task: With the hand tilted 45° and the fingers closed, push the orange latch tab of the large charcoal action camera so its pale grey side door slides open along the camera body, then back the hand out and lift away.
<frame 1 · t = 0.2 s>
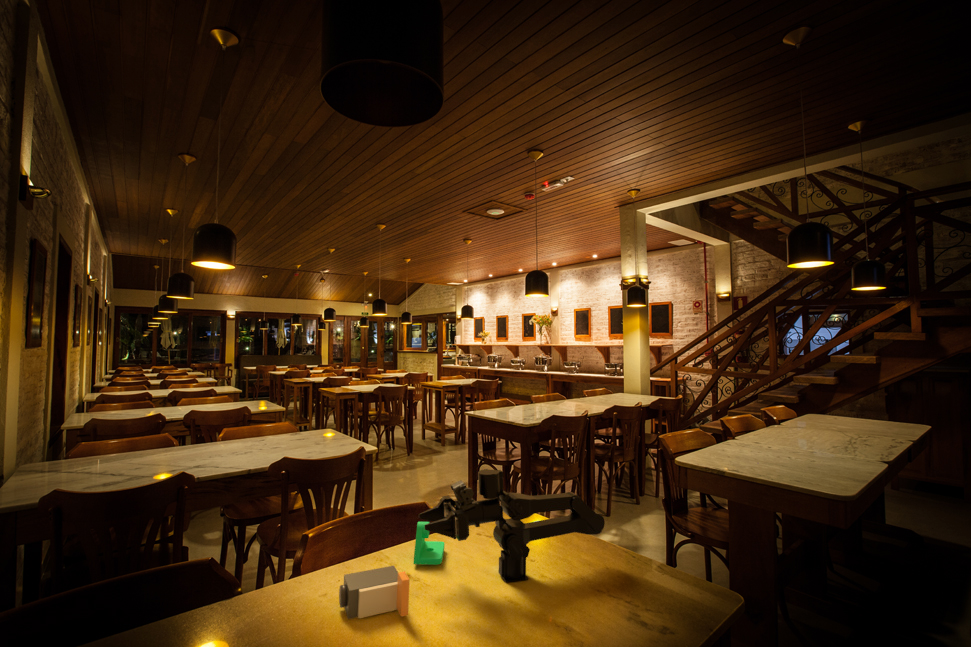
hand: (421, 521, 110), 16 cm above the table, tool horizontal, fingers open, 9 cm apart
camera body: (371, 604, 101), on the table
camera mount: (429, 559, 126), on the table
side door: (383, 597, 96), point 5 cm above the table, slide at 0.0 cm
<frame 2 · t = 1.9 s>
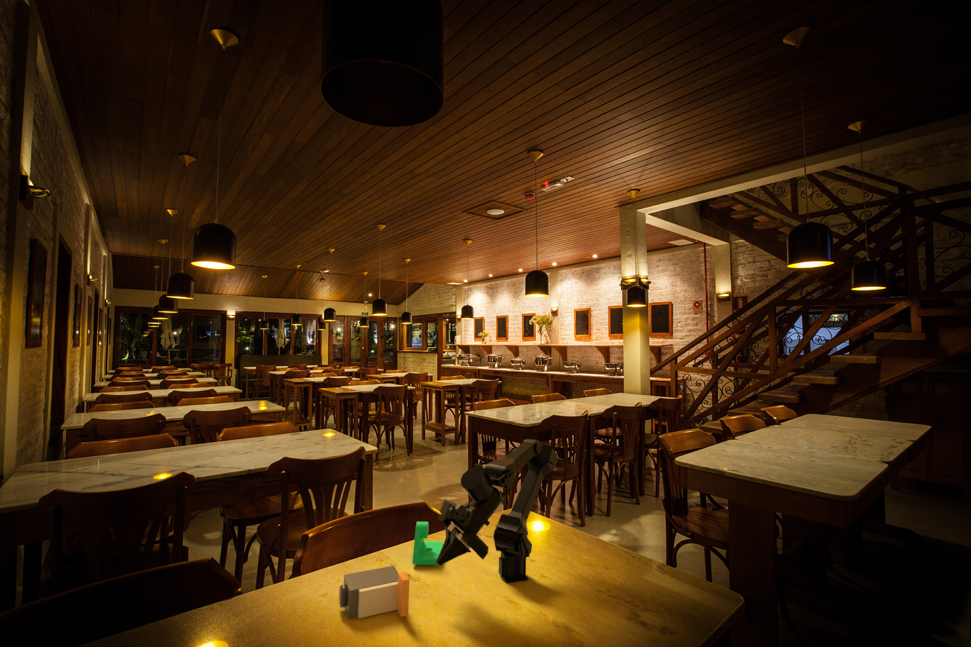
hand: (437, 563, 101), 10 cm above the table, tool tilted 45°, fingers closed
nothing on the table moved.
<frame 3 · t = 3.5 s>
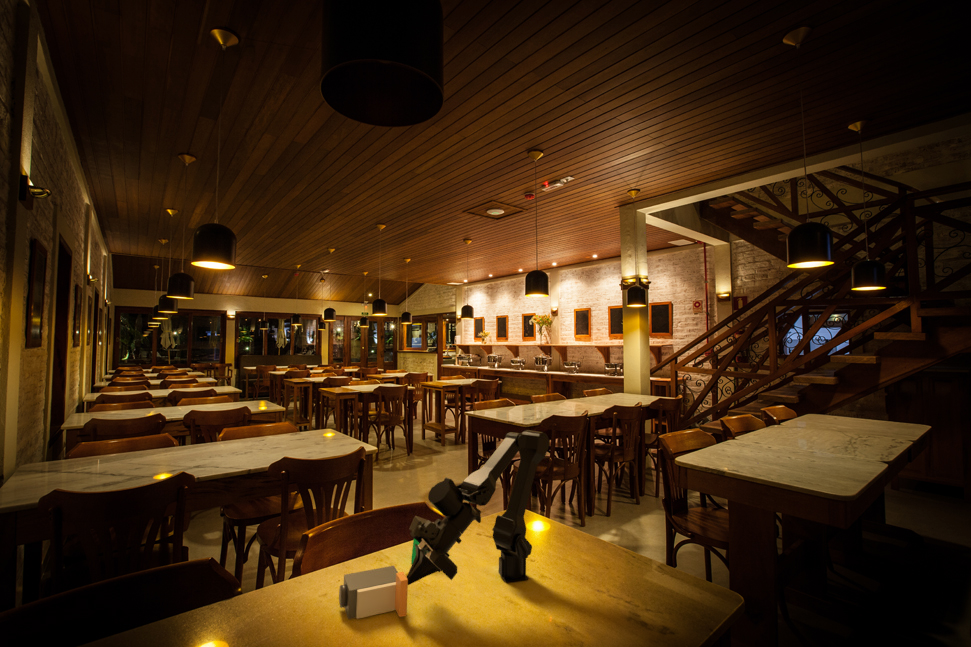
hand: (406, 583, 98), 7 cm above the table, tool tilted 45°, fingers closed, pressing on side door
side door: (381, 597, 96), point 4 cm above the table, slide at 0.4 cm, touching gripper
everything else where it was.
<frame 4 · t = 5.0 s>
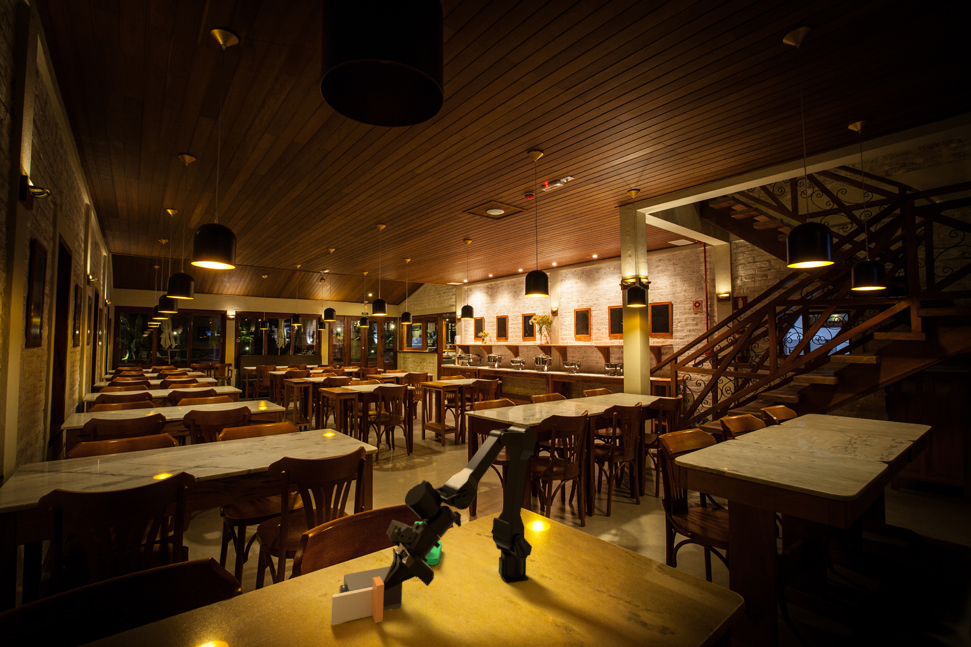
hand: (382, 588, 95), 7 cm above the table, tool tilted 45°, fingers closed, pressing on side door
side door: (357, 603, 93), point 5 cm above the table, slide at 5.7 cm, touching gripper
everything else where it was.
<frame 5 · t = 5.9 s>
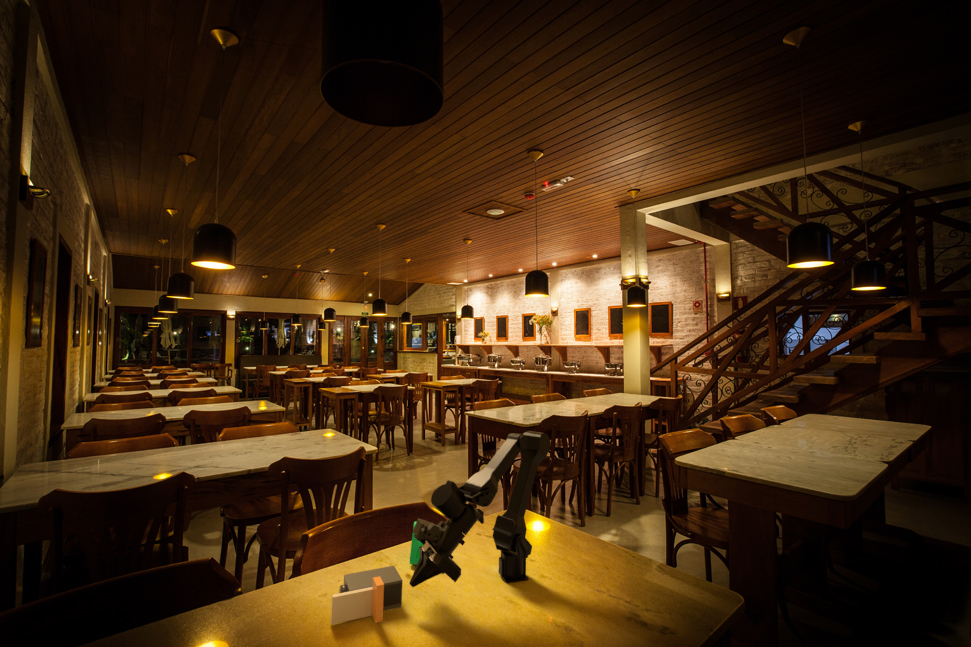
hand: (411, 585, 98), 6 cm above the table, tool tilted 45°, fingers closed
side door: (357, 603, 93), point 5 cm above the table, slide at 5.7 cm
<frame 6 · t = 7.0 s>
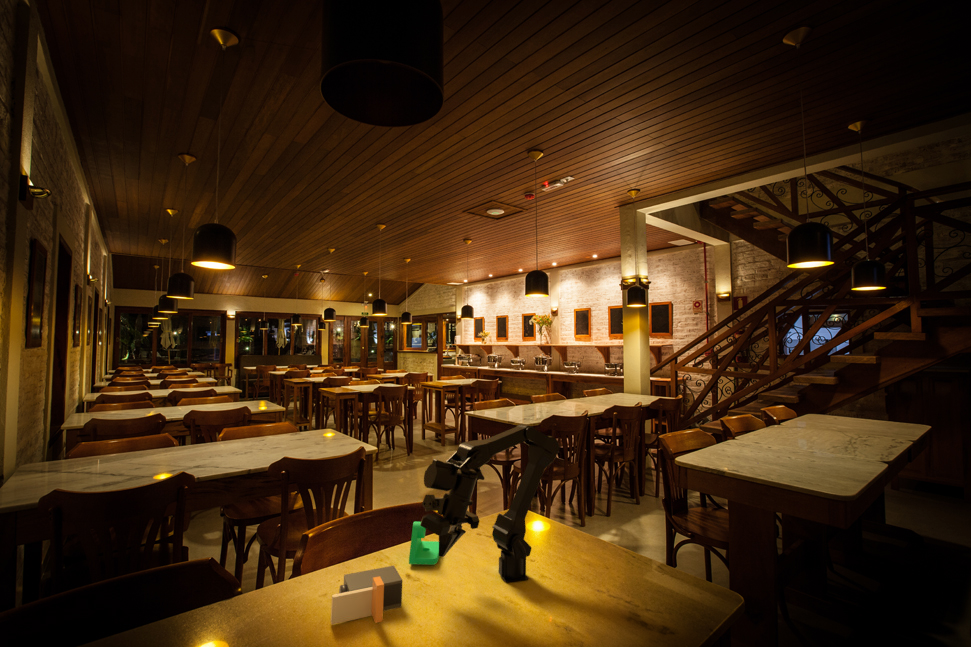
hand: (441, 556, 107), 9 cm above the table, tool tilted 15°, fingers closed
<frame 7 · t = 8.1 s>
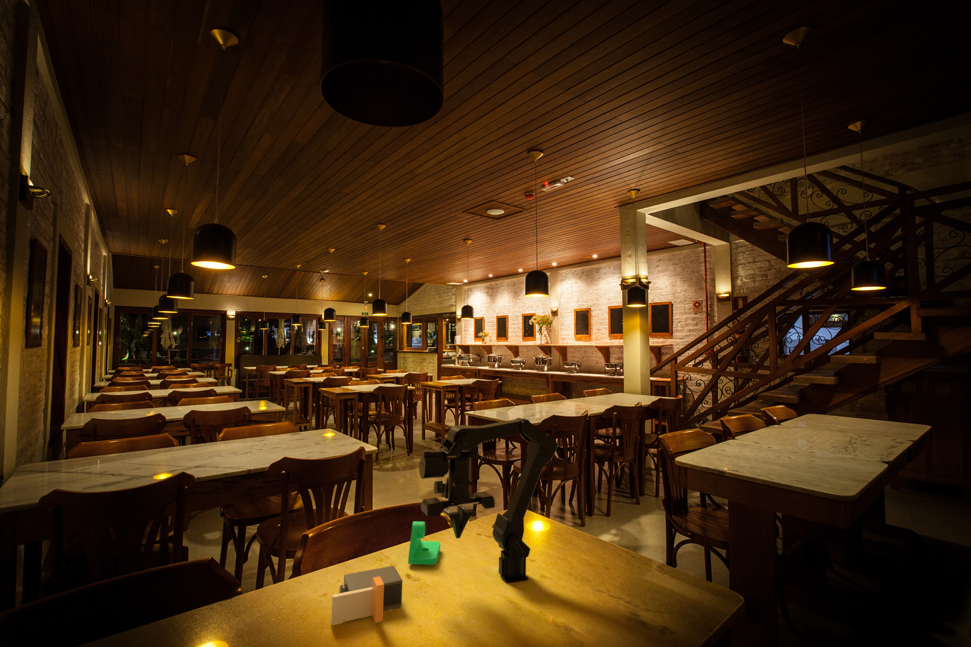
hand: (457, 537, 111), 12 cm above the table, tool pointing down, fingers closed
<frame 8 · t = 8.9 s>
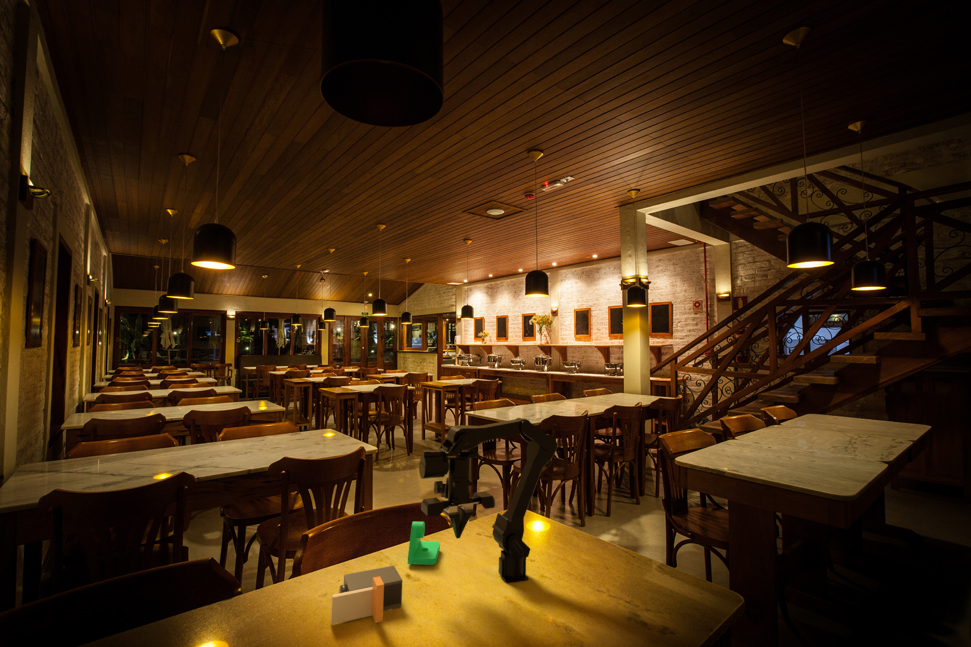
hand: (457, 537, 111), 12 cm above the table, tool pointing down, fingers closed
at the end: side door slide at 5.7 cm; camera mount moved 1.7 cm from its start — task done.
